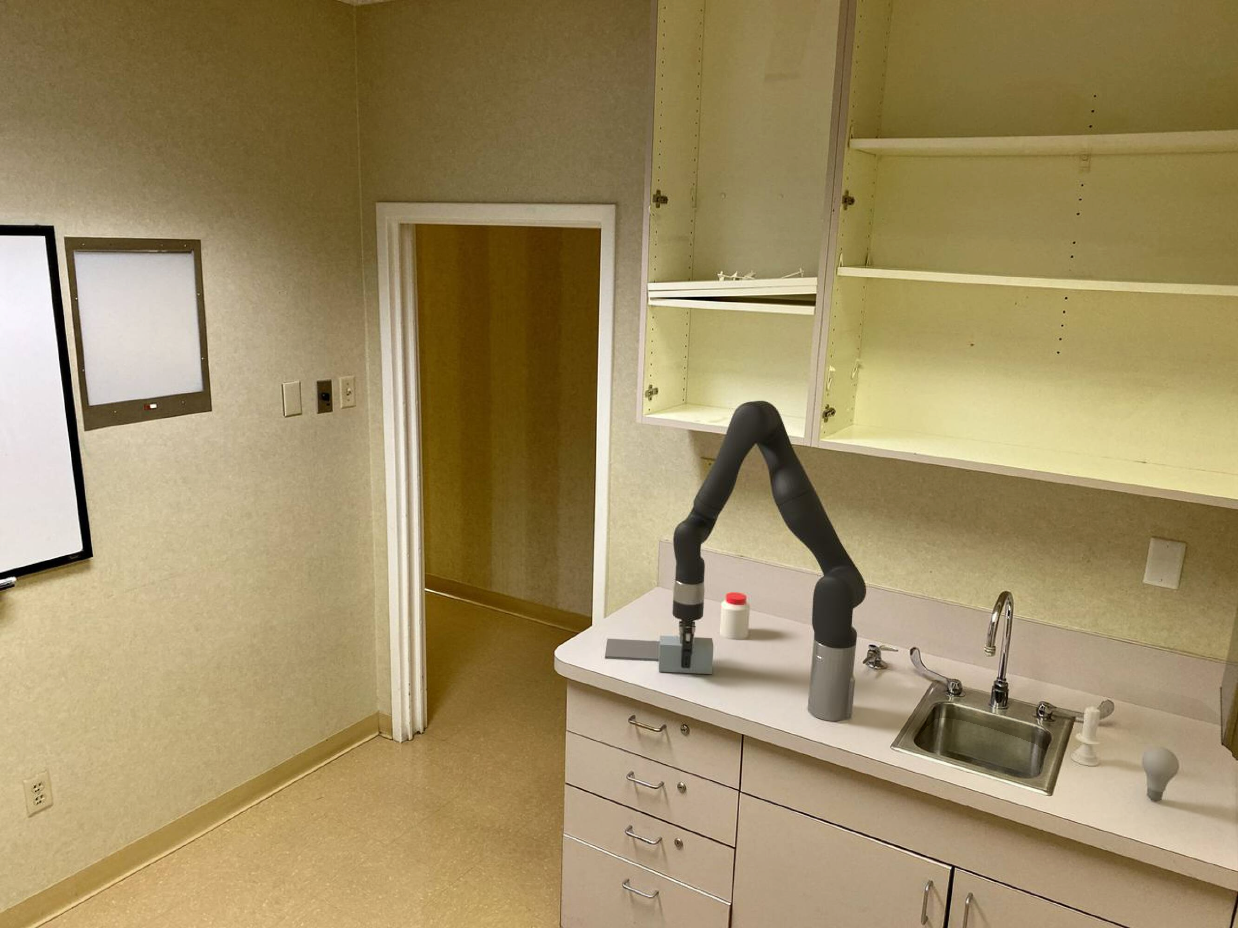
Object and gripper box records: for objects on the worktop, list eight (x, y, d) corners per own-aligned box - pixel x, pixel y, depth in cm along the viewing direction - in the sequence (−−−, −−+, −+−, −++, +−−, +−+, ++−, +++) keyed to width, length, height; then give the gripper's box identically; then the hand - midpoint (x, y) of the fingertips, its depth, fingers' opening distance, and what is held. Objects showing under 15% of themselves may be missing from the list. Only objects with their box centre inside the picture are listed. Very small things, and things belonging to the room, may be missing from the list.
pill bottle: (747, 629, 249) (750, 591, 247) (748, 640, 241) (751, 601, 239) (719, 627, 250) (721, 589, 247) (719, 638, 242) (722, 599, 240)
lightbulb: (1162, 813, 169) (1172, 760, 167) (1129, 797, 174) (1138, 745, 172) (1177, 803, 173) (1187, 751, 171) (1144, 787, 178) (1153, 737, 175)
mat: (660, 643, 238) (660, 641, 237) (660, 661, 227) (660, 658, 227) (607, 640, 238) (607, 638, 238) (604, 658, 227) (604, 655, 227)
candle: (1072, 749, 191) (1081, 697, 189) (1100, 758, 188) (1109, 705, 186) (1068, 760, 187) (1076, 707, 184) (1097, 769, 184) (1106, 715, 181)
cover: (710, 664, 225) (712, 637, 224) (712, 673, 220) (713, 647, 219) (658, 661, 226) (659, 635, 224) (658, 671, 220) (659, 644, 219)
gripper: (705, 609, 212) (701, 675, 216) (702, 588, 226) (699, 650, 230) (673, 607, 212) (670, 674, 216) (672, 586, 226) (669, 649, 230)
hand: (685, 661), depth 223 cm, fingers closed on cover, 5 cm apart
